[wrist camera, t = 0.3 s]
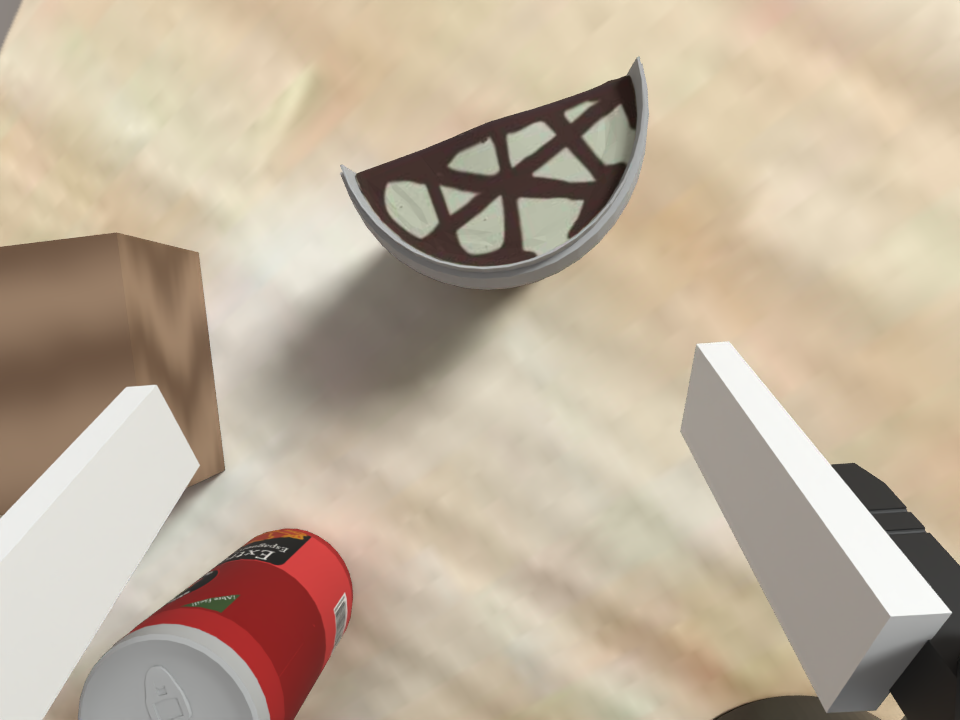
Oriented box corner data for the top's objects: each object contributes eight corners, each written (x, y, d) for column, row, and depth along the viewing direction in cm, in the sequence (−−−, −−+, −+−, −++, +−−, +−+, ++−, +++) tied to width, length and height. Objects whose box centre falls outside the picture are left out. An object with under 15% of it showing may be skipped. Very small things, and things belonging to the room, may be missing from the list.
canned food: (308, 499, 30) (185, 597, 19) (383, 611, 30) (303, 772, 19) (209, 565, 31) (35, 695, 20) (282, 674, 31) (149, 864, 20)
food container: (427, 329, 29) (377, 328, 19) (394, 225, 29) (326, 169, 19) (639, 261, 28) (705, 221, 18) (606, 152, 27) (654, 50, 17)
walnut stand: (225, 470, 30) (151, 504, 24) (27, 484, 31) (-89, 521, 25) (198, 252, 30) (116, 232, 24) (-2, 275, 31) (-128, 262, 25)
